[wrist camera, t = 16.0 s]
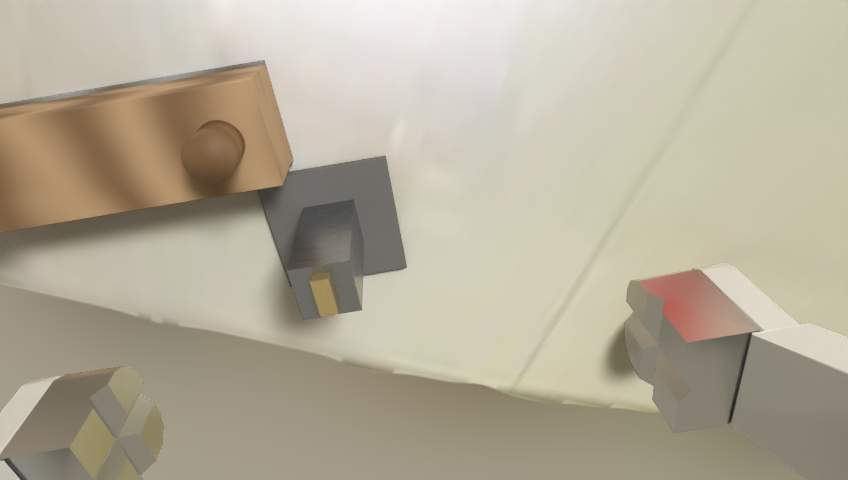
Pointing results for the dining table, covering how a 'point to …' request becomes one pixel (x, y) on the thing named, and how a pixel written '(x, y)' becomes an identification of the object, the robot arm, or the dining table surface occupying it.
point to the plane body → (140, 146)
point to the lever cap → (328, 260)
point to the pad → (334, 185)
